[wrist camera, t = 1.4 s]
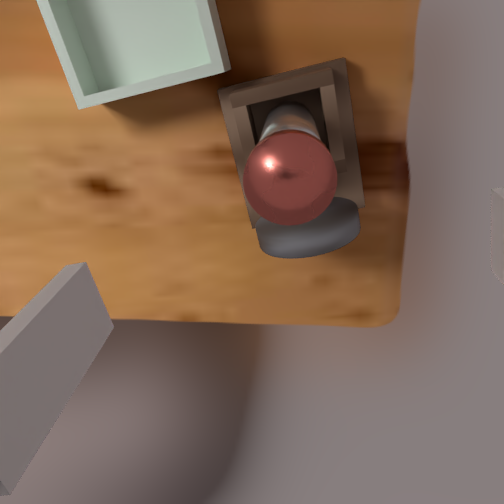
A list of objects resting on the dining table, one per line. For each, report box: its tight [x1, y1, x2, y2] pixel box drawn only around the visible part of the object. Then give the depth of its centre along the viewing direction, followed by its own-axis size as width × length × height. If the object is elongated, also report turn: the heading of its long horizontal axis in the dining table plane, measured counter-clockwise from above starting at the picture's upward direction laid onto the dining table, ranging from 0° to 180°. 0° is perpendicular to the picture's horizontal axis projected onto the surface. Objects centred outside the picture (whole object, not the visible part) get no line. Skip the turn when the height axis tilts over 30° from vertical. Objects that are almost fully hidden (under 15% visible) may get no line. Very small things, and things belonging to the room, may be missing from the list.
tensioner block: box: [217, 58, 365, 258], centre depth 33 cm, size 13×10×10 cm
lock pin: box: [243, 101, 337, 225], centre depth 28 cm, size 5×5×15 cm
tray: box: [36, 0, 231, 109], centre depth 32 cm, size 12×12×4 cm
